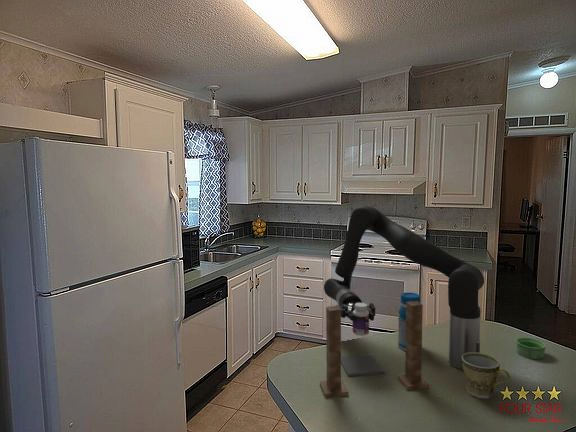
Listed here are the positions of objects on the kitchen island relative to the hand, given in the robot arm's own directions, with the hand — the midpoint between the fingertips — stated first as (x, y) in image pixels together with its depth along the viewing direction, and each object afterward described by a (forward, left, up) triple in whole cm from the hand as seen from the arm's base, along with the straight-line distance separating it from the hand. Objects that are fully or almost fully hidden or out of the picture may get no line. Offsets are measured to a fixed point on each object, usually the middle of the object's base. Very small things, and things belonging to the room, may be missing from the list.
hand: (363, 318), depth 126 cm
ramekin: (-53, -32, -18) cm, 64 cm away
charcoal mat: (+1, -2, -18) cm, 18 cm away
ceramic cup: (-36, +2, -18) cm, 40 cm away
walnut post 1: (+6, +15, -18) cm, 24 cm away
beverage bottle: (-13, -23, -18) cm, 32 cm away
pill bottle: (+1, -2, -6) cm, 7 cm away
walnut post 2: (-16, +3, -18) cm, 24 cm away
